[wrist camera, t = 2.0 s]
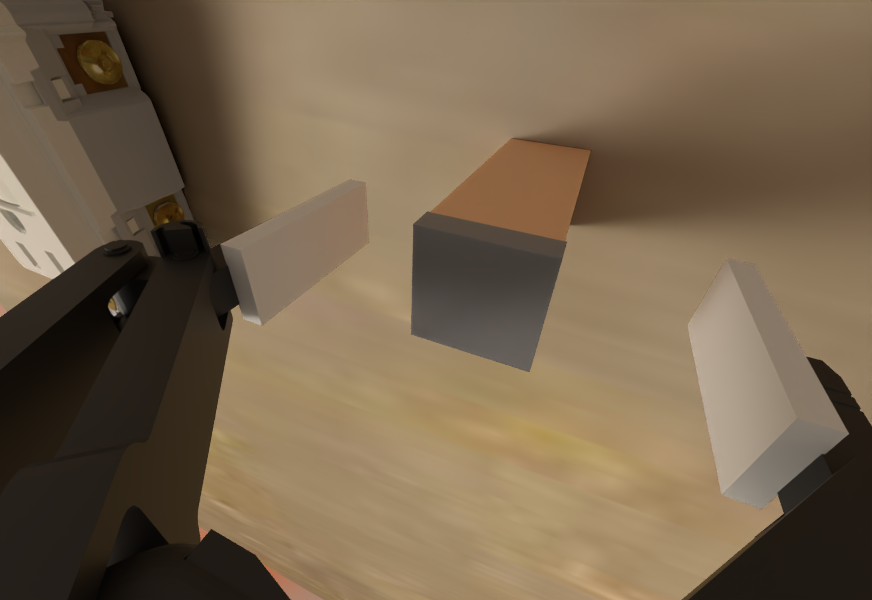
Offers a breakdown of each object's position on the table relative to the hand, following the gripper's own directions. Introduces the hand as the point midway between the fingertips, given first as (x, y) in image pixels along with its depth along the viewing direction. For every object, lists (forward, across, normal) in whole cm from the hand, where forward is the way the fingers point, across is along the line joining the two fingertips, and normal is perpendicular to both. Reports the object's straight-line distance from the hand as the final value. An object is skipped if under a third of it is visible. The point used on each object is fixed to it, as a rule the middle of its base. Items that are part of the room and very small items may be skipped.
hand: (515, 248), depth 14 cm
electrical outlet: (+8, -33, -2) cm, 34 cm away
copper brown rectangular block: (+8, 0, 0) cm, 8 cm away
